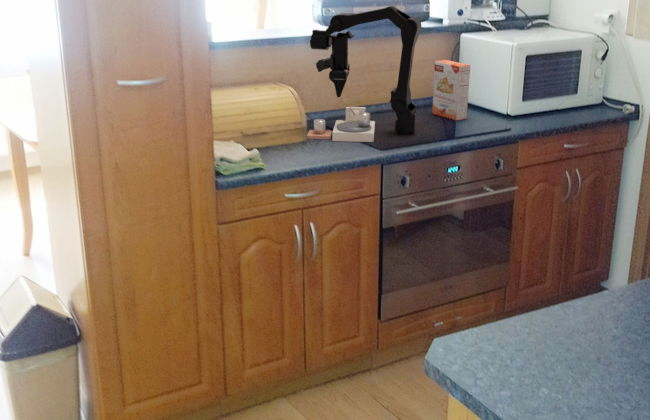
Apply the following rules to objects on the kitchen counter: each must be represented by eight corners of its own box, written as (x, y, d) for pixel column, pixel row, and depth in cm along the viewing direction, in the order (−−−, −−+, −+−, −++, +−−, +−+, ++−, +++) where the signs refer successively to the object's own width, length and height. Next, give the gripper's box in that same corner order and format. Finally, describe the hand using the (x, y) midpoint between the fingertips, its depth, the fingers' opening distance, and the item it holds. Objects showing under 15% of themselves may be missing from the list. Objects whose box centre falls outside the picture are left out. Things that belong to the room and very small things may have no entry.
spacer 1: (325, 131, 261) (326, 119, 259) (324, 134, 257) (324, 122, 255) (314, 131, 261) (314, 118, 259) (313, 134, 257) (313, 121, 256)
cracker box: (431, 114, 290) (433, 60, 283) (442, 112, 293) (446, 59, 286) (455, 121, 279) (458, 65, 272) (467, 119, 282) (471, 64, 275)
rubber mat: (331, 133, 263) (331, 130, 262) (330, 139, 255) (330, 136, 255) (309, 132, 263) (309, 129, 263) (306, 138, 256) (306, 135, 256)
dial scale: (374, 129, 268) (375, 106, 265) (373, 142, 252) (373, 118, 249) (336, 128, 269) (336, 105, 266) (332, 141, 253) (332, 117, 250)
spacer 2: (370, 124, 258) (370, 112, 257) (369, 127, 255) (369, 114, 253) (358, 124, 259) (358, 112, 257) (358, 127, 255) (358, 114, 253)
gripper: (319, 46, 271) (319, 88, 276) (314, 54, 253) (314, 99, 259) (350, 46, 270) (349, 89, 275) (346, 55, 252) (346, 100, 258)
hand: (339, 94), depth 267 cm, fingers open, 9 cm apart
